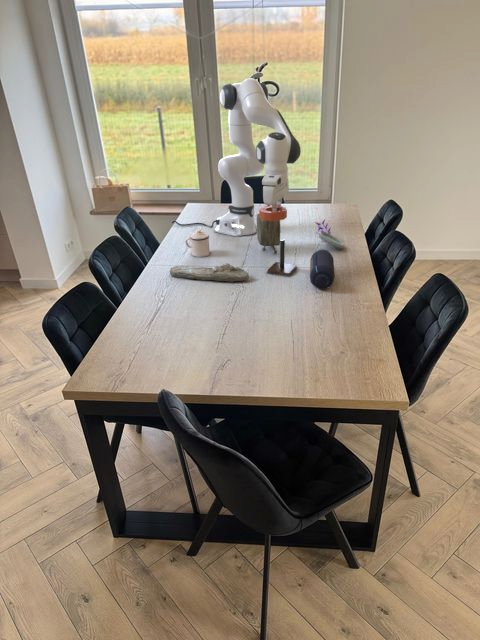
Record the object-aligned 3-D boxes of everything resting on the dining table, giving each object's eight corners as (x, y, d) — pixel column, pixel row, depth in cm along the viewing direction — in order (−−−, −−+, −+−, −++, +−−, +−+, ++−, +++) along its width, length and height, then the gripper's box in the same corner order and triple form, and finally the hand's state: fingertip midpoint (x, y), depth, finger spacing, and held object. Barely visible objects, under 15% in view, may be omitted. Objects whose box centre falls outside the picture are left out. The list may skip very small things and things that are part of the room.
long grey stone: (175, 272, 218) (167, 282, 210) (173, 261, 215) (165, 271, 207) (251, 273, 211) (246, 284, 203) (250, 262, 208) (245, 272, 200)
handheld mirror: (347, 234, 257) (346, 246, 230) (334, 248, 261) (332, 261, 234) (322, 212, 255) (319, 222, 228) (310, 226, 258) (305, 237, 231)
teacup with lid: (213, 251, 236) (211, 227, 230) (206, 258, 229) (204, 234, 223) (190, 249, 239) (188, 225, 233) (182, 255, 232) (180, 231, 226)
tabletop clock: (280, 255, 231) (280, 202, 218) (261, 256, 230) (260, 203, 217) (274, 244, 244) (274, 193, 230) (256, 245, 242) (255, 194, 229)
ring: (255, 219, 201) (255, 211, 199) (265, 212, 210) (265, 204, 208) (280, 222, 197) (280, 214, 195) (290, 214, 206) (290, 207, 204)
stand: (267, 273, 213) (267, 242, 206) (275, 265, 221) (275, 235, 214) (288, 276, 210) (289, 245, 203) (296, 268, 218) (297, 237, 210)
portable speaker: (310, 267, 218) (311, 246, 213) (332, 268, 217) (333, 246, 212) (309, 291, 197) (310, 268, 192) (334, 292, 196) (335, 269, 191)
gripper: (278, 170, 208) (278, 203, 215) (260, 181, 192) (260, 216, 199) (292, 171, 206) (291, 204, 213) (275, 182, 190) (275, 217, 197)
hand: (276, 210), depth 206 cm, fingers closed on ring, 2 cm apart
